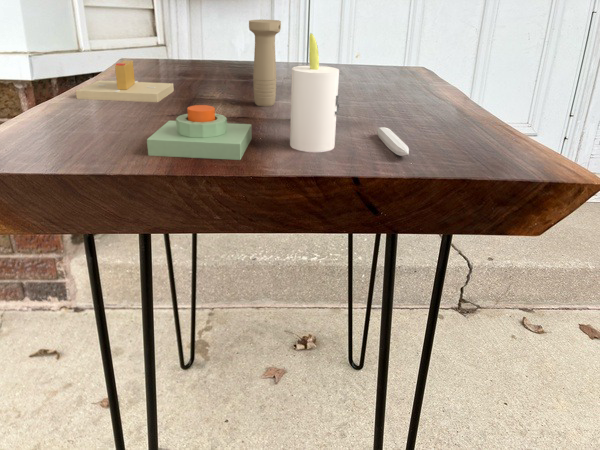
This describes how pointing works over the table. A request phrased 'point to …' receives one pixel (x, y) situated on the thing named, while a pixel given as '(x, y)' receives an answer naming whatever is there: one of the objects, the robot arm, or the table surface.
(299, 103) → the candle
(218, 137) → the green button mount
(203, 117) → the bell button
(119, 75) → the thumbturn
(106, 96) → the plate
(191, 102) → the table surface
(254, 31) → the handle
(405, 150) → the white faceted rod
